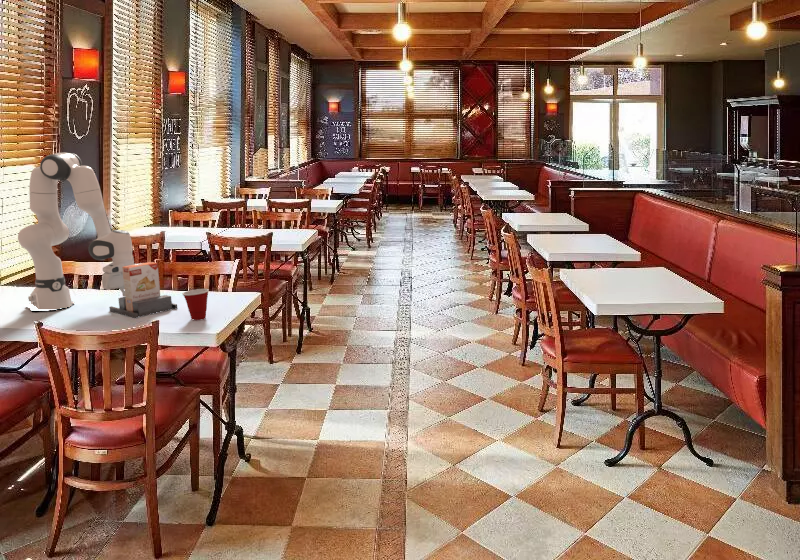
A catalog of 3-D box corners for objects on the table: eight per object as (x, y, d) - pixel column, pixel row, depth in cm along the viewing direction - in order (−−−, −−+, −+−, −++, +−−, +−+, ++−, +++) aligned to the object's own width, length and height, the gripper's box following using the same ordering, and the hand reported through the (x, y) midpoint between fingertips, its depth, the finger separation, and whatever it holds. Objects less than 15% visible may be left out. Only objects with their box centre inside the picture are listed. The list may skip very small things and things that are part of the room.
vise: (109, 311, 319) (108, 298, 318) (150, 302, 334) (149, 289, 333) (136, 318, 305) (134, 304, 304) (177, 308, 320) (176, 295, 319)
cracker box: (134, 315, 311) (128, 267, 306) (126, 313, 314) (121, 266, 310) (162, 308, 321) (158, 262, 317) (154, 306, 325) (150, 261, 321)
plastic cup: (193, 314, 308) (191, 287, 306) (216, 315, 305) (213, 288, 303) (179, 321, 298) (176, 293, 296) (202, 322, 295) (199, 294, 293)
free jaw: (119, 311, 318) (118, 298, 316) (152, 304, 330) (151, 291, 328) (125, 313, 314) (124, 299, 313) (158, 305, 326) (157, 292, 325)
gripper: (141, 261, 334) (143, 290, 337) (98, 268, 319) (102, 299, 322) (148, 263, 330) (151, 292, 333) (106, 270, 315) (109, 301, 318)
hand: (126, 295), depth 327 cm, fingers closed
